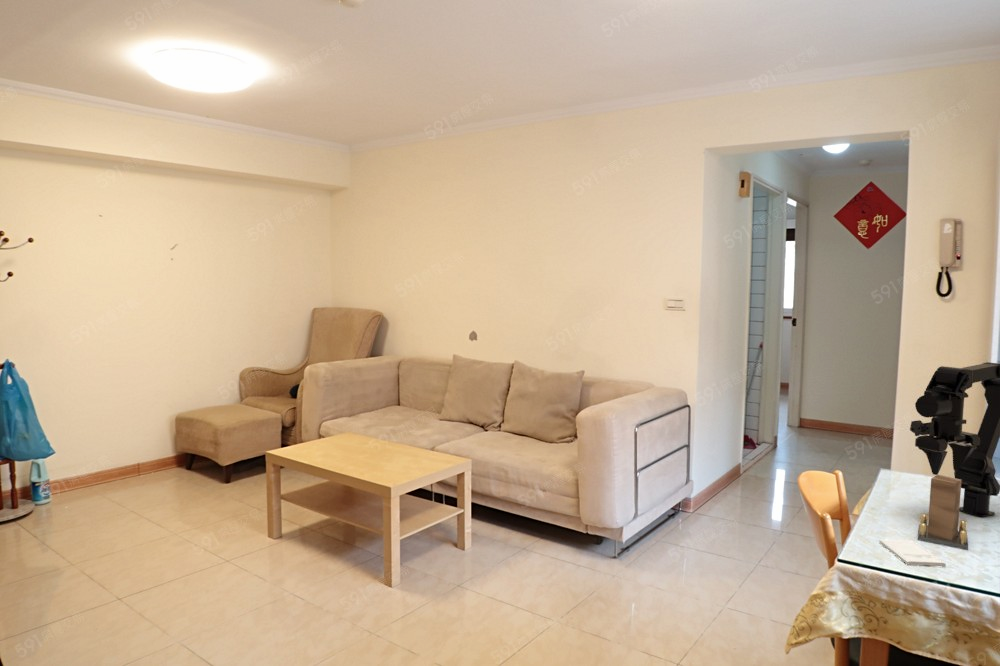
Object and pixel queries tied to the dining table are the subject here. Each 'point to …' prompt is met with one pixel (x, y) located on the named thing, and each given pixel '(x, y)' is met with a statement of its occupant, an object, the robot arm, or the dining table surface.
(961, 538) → the plate
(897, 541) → the external hard drive
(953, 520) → the walnut post
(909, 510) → the dining table surface
